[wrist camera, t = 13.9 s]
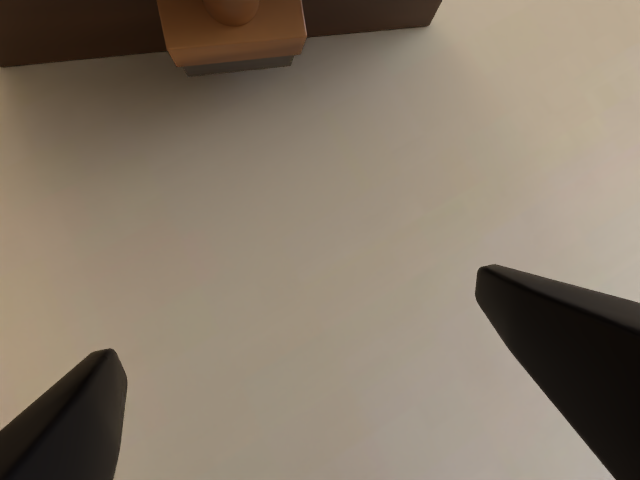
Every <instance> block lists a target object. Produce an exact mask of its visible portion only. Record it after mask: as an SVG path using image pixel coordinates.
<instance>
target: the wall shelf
mask: <svg viewBox="0 0 640 480" xmlns="http://www.w3.org/2000/svg"><path fill="white" fill-rule="evenodd" d="M441 2H442V0H302V6H303V13H304V19H305V25H306V32H307V37H315V36H325V35H335V34H346V33H356V32H366V31H377V30H387V29H397V28H407V27H418V26H428V25H430V23H431V21H432V19H433V17H434V15H435V13H436V11H437V9H438V8H439V6H440V4H441ZM161 51H168V50H167V49H166V44H165V39H164V34H163V30H162V25H161V20H160V15H159V11H158V6H157V1H156V0H0V67H6V66H17V65H27V64H37V63H47V62H58V61H68V60H78V59H89V58H99V57H109V56H119V55H130V54H140V53H150V52H161Z"/></svg>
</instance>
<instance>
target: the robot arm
mask: <svg viewBox="0 0 640 480" xmlns="http://www.w3.org/2000/svg"><path fill="white" fill-rule="evenodd" d="M475 297H476V300H477V302H478V304H479V306H480V307H481V309H482V310H483V312H484V313H485V315H486V316H487V318H488V319H489V321H490V322H491V324H492V325H493V327H494V328H495V330H496V331H497V333H498V334H499V336H500V337H501V339H502V340H503V342H504V343H505V344H506V346H507V347H508V349H509V350H510V351H511V353H512V354H513V355H514V356H515V358H516V359H517V360H518V361H519V363H520V364H521V365H522V366H523V367H524V369H525V370H526V371H527V372H528V373H529V375H530V376H531V377H532V378H533V380H534V381H535V382H536V383H537V384H538V386H539V387H540V388H541V389H542V391H543V392H544V393H545V394H546V395H547V397H548V398H549V399H550V400H551V401H552V403H553V404H554V405H555V406H556V408H557V409H558V410H559V411H560V412H561V414H562V415H563V416H564V417H565V419H566V420H567V421H568V422H569V423H570V425H571V426H572V427H573V428H574V429H575V431H576V432H577V433H578V434H579V436H580V437H581V438H582V439H583V440H584V442H585V443H586V444H587V445H588V446H589V448H590V449H591V450H592V451H593V453H594V454H595V455H596V456H597V457H598V459H599V460H600V461H601V462H602V464H603V465H604V466H605V467H606V468H607V470H608V471H609V472H610V473H611V474H612V476H613V477H614V478H615V479H616V480H640V303H638V302H634V301H630V300H627V299H623V298H619V297H616V296H612V295H608V294H604V293H601V292H597V291H593V290H589V289H586V288H582V287H578V286H574V285H571V284H567V283H563V282H559V281H556V280H552V279H548V278H545V277H541V276H537V275H533V274H530V273H526V272H522V271H518V270H515V269H511V268H507V267H503V266H500V265H496V264H493V265H488V266H483V267H481V268H479V270H478V272H477V280H476V290H475ZM126 393H127V376H126V373H125V371H124V369H123V367H122V364H121V362H120V360H119V358H118V355H117V353H116V352H115V350H114V349H111V348H109V349H104V350H100V351H95V352H92V353H91V354H89V355H88V356H87V357H86V358H85V359H84V360H82V361H81V362H80V363H79V364H78V365H77V366H75V367H74V368H73V369H72V370H71V371H70V372H68V373H67V374H66V375H65V376H64V377H63V378H61V379H60V380H59V381H58V382H57V383H56V384H54V385H53V386H52V387H51V388H50V389H49V390H47V391H46V392H45V393H44V394H43V395H42V396H40V397H39V398H38V399H37V400H36V401H35V402H33V403H32V404H31V405H30V406H29V407H28V408H26V409H25V410H24V411H23V412H22V413H21V414H19V415H18V416H17V417H16V418H15V419H14V420H12V421H11V422H10V423H9V424H8V425H7V426H5V427H4V428H3V429H2V430H1V431H0V480H113V478H114V473H115V469H116V465H117V460H118V455H119V450H120V443H121V436H122V427H123V419H124V410H125V402H126Z"/></svg>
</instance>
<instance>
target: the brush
mask: <svg viewBox="0 0 640 480" xmlns="http://www.w3.org/2000/svg"><path fill="white" fill-rule="evenodd" d="M156 1H157V6H158V11H159V15H160V20H161V25H162V30H163V34H164V39H165V44H166V49H167V50H168V52H169V54H170V56H171V58H172V60H173V61H174V63H175V65H176V67H183V69H184V71H185V73H186V75H187V76H188V77H192V76H201V75H210V74H219V73H229V72H238V71H247V70H256V69H265V68H275V67H284V66H290V65H291V63H292V60H293V57H294V55H300V54H301V51H302V49H303V46H304V43H305V40H306V37H307V32H306V25H305V19H304V13H303V6H302V0H156Z"/></svg>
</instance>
